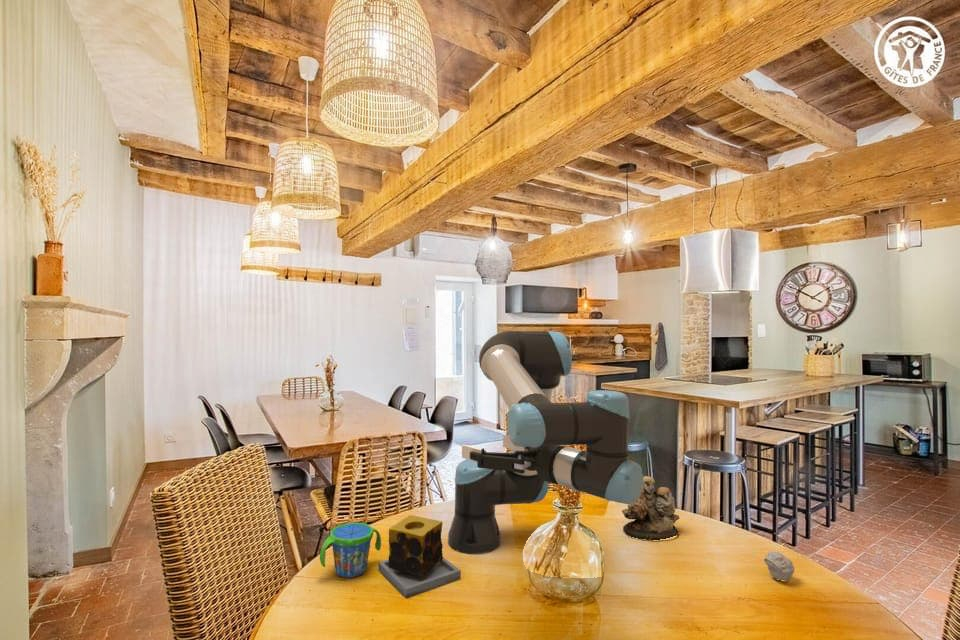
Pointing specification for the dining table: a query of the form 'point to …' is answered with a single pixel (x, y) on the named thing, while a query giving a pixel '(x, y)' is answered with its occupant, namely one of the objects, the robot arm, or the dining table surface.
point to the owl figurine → (651, 513)
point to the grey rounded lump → (779, 566)
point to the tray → (420, 577)
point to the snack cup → (350, 548)
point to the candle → (415, 545)
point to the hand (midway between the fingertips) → (484, 445)
